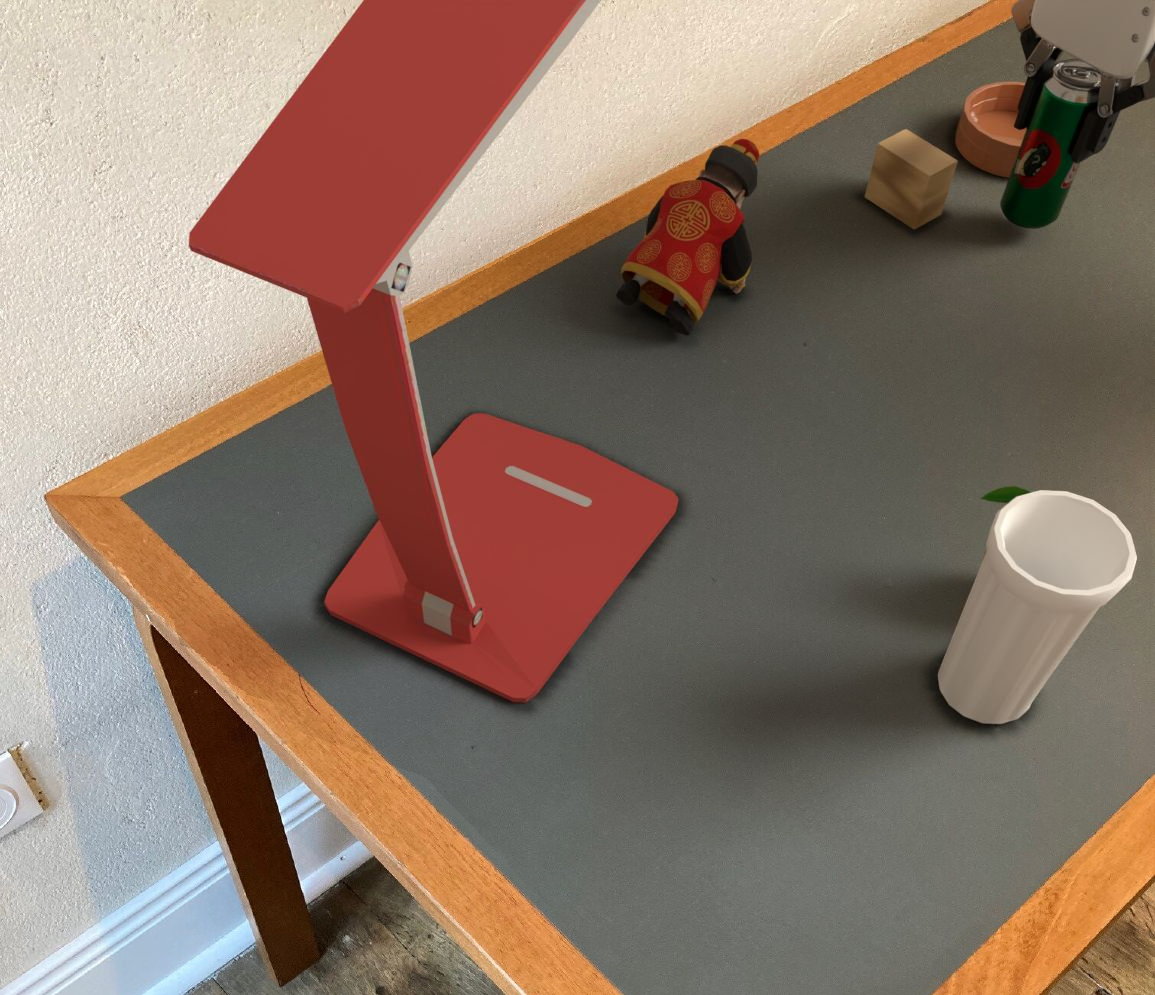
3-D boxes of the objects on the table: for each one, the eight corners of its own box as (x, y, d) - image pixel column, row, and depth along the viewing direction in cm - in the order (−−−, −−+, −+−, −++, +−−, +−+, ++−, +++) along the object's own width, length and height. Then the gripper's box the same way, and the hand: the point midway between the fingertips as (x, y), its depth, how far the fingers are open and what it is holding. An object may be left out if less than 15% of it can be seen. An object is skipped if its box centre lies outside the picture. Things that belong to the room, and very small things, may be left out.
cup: (927, 628, 80) (995, 476, 67) (1047, 652, 79) (1138, 502, 67) (916, 724, 76) (987, 581, 63) (1043, 751, 75) (1139, 611, 63)
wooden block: (941, 214, 104) (958, 160, 99) (914, 230, 102) (930, 176, 98) (891, 182, 106) (905, 128, 102) (864, 197, 105) (877, 143, 100)
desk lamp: (748, 406, 90) (869, -241, 56) (491, 780, 73) (437, 170, 39) (547, 329, 95) (545, -319, 60) (258, 664, 77) (22, 20, 43)
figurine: (708, 368, 98) (803, 213, 98) (698, 318, 89) (803, 147, 88) (613, 317, 100) (706, 164, 100) (593, 263, 91) (696, 94, 90)
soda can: (1058, 235, 100) (1116, 94, 90) (998, 228, 100) (1050, 87, 90) (1055, 200, 103) (1111, 58, 92) (997, 193, 103) (1046, 52, 93)
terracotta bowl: (1092, 151, 109) (1105, 119, 106) (1019, 193, 105) (1031, 161, 103) (1004, 100, 113) (1015, 68, 110) (931, 139, 109) (940, 107, 107)
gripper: (1293, -87, 78) (1169, 172, 94) (1087, -178, 85) (1004, 78, 100) (1228, -53, 76) (1112, 207, 91) (1021, -149, 82) (946, 108, 98)
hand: (1056, 137), depth 96 cm, fingers closed on soda can, 5 cm apart
